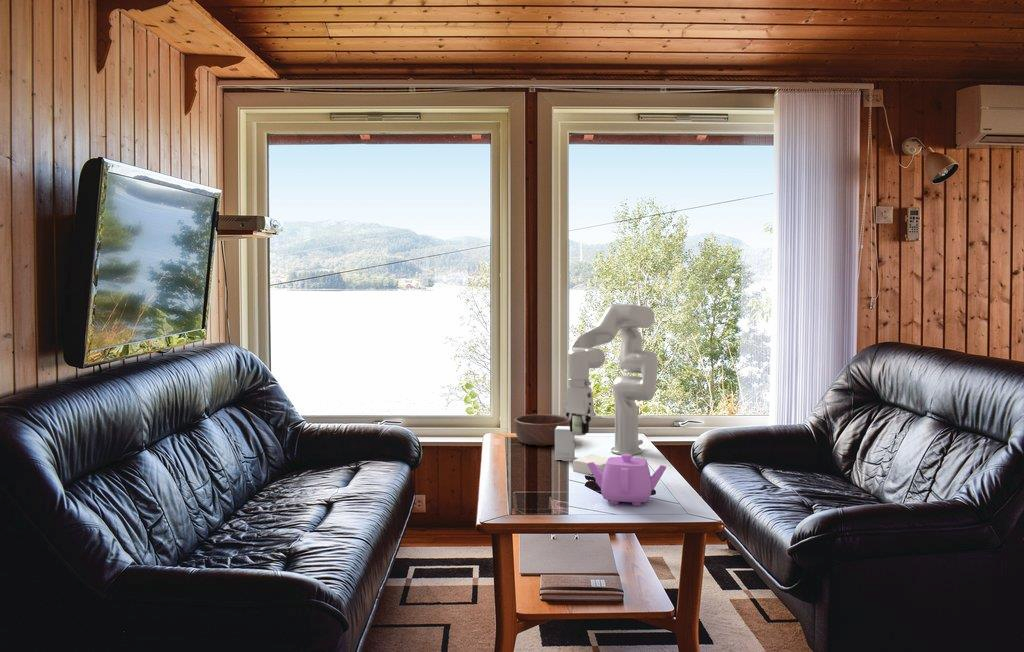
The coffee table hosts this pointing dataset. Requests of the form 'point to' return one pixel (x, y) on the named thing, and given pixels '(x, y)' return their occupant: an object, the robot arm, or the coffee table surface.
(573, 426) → the green domed cylinder
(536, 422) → the wooden bowl
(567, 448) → the supplement box
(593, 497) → the coffee table surface
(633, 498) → the teapot
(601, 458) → the base
